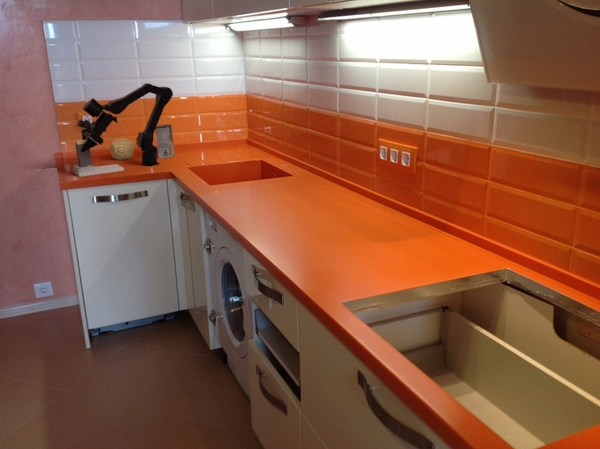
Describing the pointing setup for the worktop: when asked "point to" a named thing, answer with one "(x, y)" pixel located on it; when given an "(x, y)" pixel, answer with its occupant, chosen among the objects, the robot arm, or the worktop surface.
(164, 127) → the coffee box
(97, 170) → the notch board
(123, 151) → the sculpture
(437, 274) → the worktop surface
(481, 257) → the worktop surface
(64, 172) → the worktop surface
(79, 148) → the grey tall block
